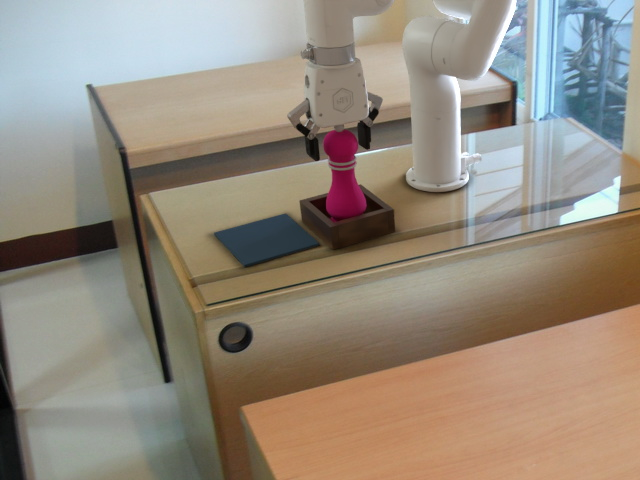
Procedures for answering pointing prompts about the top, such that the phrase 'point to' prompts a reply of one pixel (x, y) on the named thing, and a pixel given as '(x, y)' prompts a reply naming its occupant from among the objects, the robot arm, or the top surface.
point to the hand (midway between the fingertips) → (339, 152)
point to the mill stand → (348, 221)
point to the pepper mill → (343, 175)
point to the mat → (266, 239)
